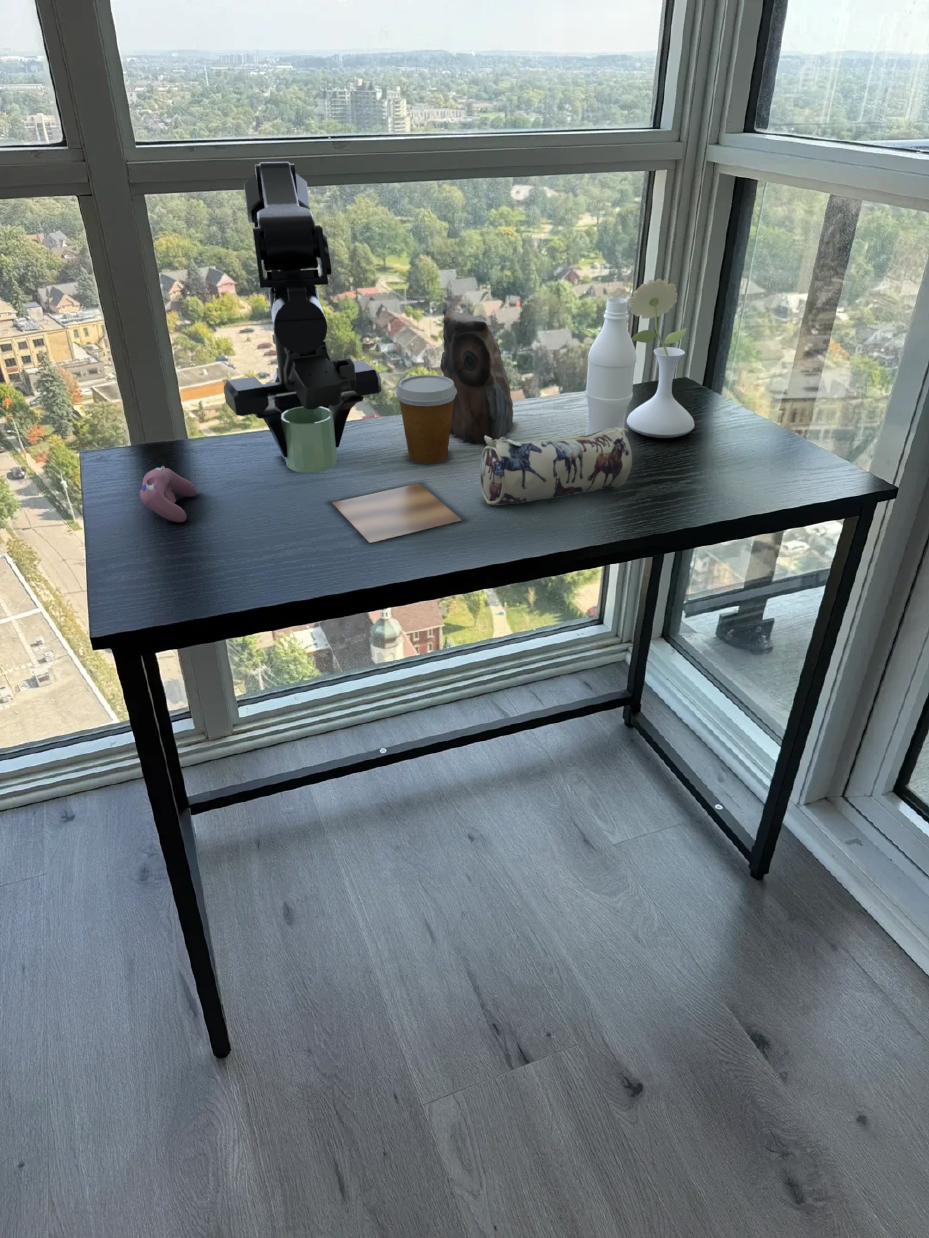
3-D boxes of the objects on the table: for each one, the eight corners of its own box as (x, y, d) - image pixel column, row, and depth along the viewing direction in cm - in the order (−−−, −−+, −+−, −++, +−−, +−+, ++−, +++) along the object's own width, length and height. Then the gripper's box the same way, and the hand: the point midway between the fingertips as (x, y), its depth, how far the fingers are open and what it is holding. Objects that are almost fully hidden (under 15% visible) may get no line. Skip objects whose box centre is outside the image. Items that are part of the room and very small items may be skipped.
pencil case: (494, 517, 121) (495, 451, 116) (475, 492, 128) (475, 429, 123) (634, 496, 127) (641, 433, 122) (609, 474, 134) (615, 413, 128)
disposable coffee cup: (450, 470, 135) (449, 395, 128) (391, 465, 137) (388, 391, 130) (462, 447, 143) (462, 375, 136) (407, 443, 144) (404, 372, 138)
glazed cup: (280, 458, 114) (273, 411, 111) (327, 449, 117) (322, 402, 113) (295, 476, 109) (289, 427, 106) (344, 467, 112) (340, 418, 108)
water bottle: (574, 468, 135) (586, 303, 122) (586, 452, 141) (599, 292, 127) (619, 475, 133) (636, 308, 119) (629, 458, 139) (647, 297, 125)
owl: (496, 450, 142) (498, 326, 131) (424, 441, 145) (420, 319, 134) (516, 423, 152) (520, 306, 141) (448, 416, 155) (447, 300, 144)
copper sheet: (332, 503, 125) (332, 502, 125) (418, 484, 131) (418, 483, 131) (369, 543, 115) (369, 542, 115) (462, 520, 120) (462, 520, 120)
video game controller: (175, 504, 129) (144, 466, 125) (200, 490, 128) (170, 451, 124) (161, 535, 120) (128, 495, 117) (188, 521, 119) (156, 480, 116)
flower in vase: (693, 423, 152) (715, 273, 138) (692, 447, 143) (716, 289, 129) (618, 417, 154) (633, 269, 141) (613, 440, 145) (628, 285, 131)
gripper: (238, 358, 94) (258, 489, 103) (395, 335, 101) (401, 460, 110) (213, 333, 102) (233, 456, 111) (360, 314, 109) (368, 431, 118)
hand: (310, 451), depth 112 cm, fingers closed on glazed cup, 6 cm apart
